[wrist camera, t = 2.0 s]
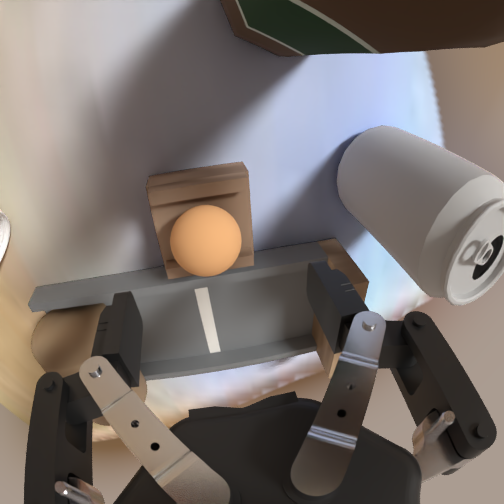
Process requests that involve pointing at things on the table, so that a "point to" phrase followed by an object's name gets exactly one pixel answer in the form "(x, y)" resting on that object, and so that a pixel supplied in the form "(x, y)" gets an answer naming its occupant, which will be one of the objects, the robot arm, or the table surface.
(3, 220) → the spread jar
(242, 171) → the tee
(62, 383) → the robot arm
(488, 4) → the beer bottle
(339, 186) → the can
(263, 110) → the table surface
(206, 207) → the ball
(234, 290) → the lane
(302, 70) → the table surface
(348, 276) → the backstop
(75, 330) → the log
